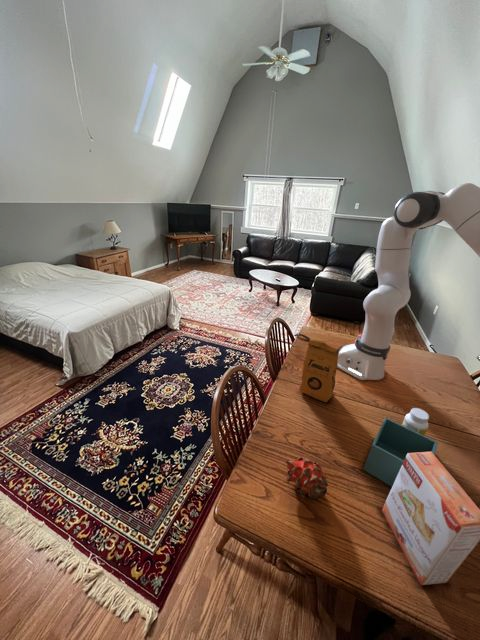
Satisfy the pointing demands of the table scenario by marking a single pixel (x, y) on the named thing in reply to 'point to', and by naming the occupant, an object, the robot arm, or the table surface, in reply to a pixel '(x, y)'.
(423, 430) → the pill bottle
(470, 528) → the cracker box
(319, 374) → the coffee package
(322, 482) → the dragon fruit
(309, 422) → the table surface
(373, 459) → the trash bin
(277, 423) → the table surface
